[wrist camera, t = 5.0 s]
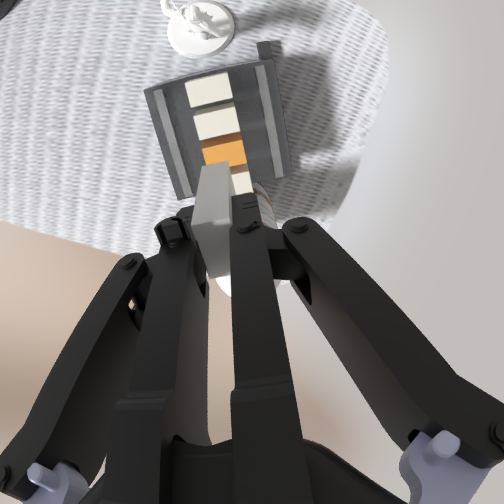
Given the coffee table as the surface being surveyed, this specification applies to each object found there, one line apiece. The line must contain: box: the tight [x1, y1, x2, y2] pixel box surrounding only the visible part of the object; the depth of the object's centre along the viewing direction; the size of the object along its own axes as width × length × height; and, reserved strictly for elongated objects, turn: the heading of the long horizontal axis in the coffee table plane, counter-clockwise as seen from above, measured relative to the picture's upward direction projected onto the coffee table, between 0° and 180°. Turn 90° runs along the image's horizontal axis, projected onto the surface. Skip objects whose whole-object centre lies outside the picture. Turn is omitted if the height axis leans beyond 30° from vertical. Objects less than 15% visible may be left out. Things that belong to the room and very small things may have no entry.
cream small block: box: [229, 163, 253, 195], centre depth 29 cm, size 2×4×3 cm, turn 101°
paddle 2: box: [193, 102, 240, 140], centre depth 25 cm, size 2×4×3 cm, turn 101°
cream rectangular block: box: [185, 72, 233, 108], centre depth 23 cm, size 2×4×3 cm, turn 101°
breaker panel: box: [144, 59, 293, 200], centre depth 29 cm, size 12×12×7 cm
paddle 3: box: [202, 132, 247, 167], centre depth 27 cm, size 2×4×3 cm, turn 101°
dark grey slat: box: [256, 41, 272, 60], centre depth 31 cm, size 16×1×1 cm, turn 11°
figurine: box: [160, 0, 234, 59], centre depth 21 cm, size 7×7×12 cm
